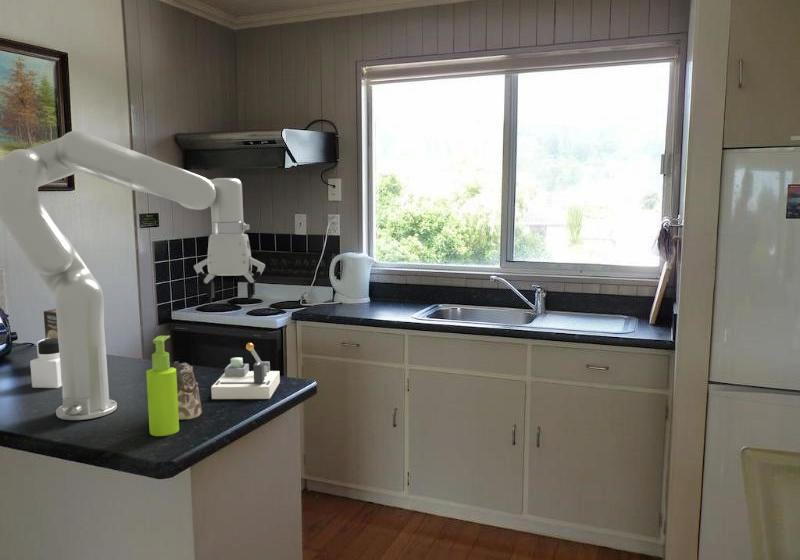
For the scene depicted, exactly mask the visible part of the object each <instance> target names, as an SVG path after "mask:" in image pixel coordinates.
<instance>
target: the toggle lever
mask: <svg viewBox="0 0 800 560" xmlns="http://www.w3.org/2000/svg"><path fill="white" fill-rule="evenodd" d="M254 347H255V345H254V344H253V343H252V342H248V343H247V344H246V346H245V348H246V350H248V351H249V352H250V353H251V355H252V356H253V357H254V359H255V362H263V361H262V360H261V358H260V357H259V355H258V354H257V351H256V350H255V349H254ZM264 366H267V365H264ZM267 370H268V366H267Z"/></svg>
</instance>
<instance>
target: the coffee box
mask: <svg viewBox="0 0 800 560" xmlns="http://www.w3.org/2000/svg"><path fill="white" fill-rule="evenodd" d="M43 323H44V336H45V337H44V339H47V338H58V329H57V315H56V308H54V309H49V310H44V311H43Z"/></svg>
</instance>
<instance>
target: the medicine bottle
mask: <svg viewBox="0 0 800 560" xmlns="http://www.w3.org/2000/svg"><path fill="white" fill-rule="evenodd" d="M36 350H37V358H33V359H32V360H30V361H29V362H30V363H29V364H30V376H31V388H33V389H34V388H40V389H59V388H62V381H61V368H60V354H59V343H58V338H47V339H46V338H43V339H41V340H38V341H37V342H36Z"/></svg>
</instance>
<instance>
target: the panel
mask: <svg viewBox="0 0 800 560" xmlns="http://www.w3.org/2000/svg"><path fill="white" fill-rule="evenodd" d="M263 362H264V365H267V366H268V370H267V366H264V378H265V380H264V381H263V383H254V370H251V371H250V364H249V363H243V368H231V363H229V364H227V366H226V367H225V368H224V373H223V374H221V376H220V377H219V378H218V380H216V382H215V383H213V384H212V385H211V388H210V389H211V390H210V391H211V400H270V399H271V397H272V396H273V394H274V392H275V391H276V390H277V388H278V386H279V384H280V383H281V378H280V377H281V376H280V370H271V365H270V364H271V363H270V361H263Z"/></svg>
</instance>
